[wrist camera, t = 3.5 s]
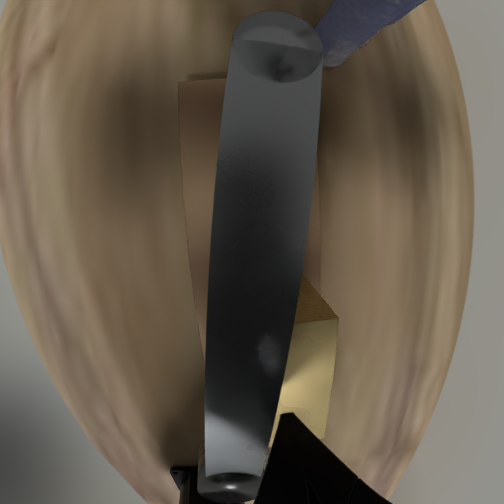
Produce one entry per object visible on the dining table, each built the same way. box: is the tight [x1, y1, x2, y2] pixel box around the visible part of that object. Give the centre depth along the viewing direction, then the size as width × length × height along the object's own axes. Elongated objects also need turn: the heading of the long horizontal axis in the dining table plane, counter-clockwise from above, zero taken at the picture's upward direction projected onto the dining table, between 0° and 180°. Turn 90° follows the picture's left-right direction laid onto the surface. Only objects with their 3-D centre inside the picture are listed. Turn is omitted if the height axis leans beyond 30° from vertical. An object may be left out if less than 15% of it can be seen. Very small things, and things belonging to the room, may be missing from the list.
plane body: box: [178, 78, 320, 455], centre depth 13 cm, size 19×6×5 cm, turn 3°
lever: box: [197, 11, 323, 503], centre depth 9 cm, size 15×2×7 cm, turn 175°
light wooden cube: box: [269, 273, 339, 447], centre depth 12 cm, size 6×4×5 cm, turn 3°
